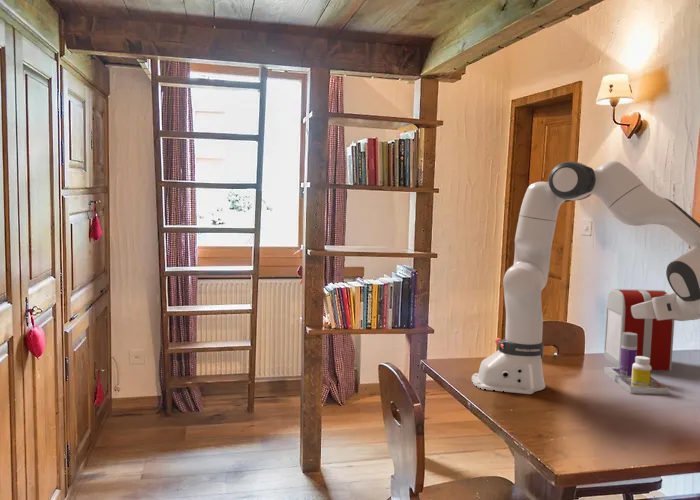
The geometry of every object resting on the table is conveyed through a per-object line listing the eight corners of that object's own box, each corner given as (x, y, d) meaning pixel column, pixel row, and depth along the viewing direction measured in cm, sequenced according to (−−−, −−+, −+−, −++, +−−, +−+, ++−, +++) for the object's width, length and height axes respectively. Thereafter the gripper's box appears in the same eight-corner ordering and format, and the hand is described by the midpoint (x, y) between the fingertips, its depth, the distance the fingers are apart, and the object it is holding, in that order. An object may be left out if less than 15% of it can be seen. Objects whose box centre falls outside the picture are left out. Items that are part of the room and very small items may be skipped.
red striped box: (602, 355, 210) (606, 285, 208) (651, 357, 208) (656, 287, 206) (619, 368, 194) (623, 292, 191) (672, 371, 192) (677, 294, 190)
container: (637, 380, 180) (639, 335, 179) (621, 379, 181) (624, 334, 180) (632, 376, 185) (635, 332, 183) (617, 375, 186) (620, 331, 184)
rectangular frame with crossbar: (667, 394, 167) (668, 388, 167) (630, 393, 168) (630, 386, 168) (637, 373, 188) (637, 367, 188) (603, 372, 189) (604, 366, 188)
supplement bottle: (652, 391, 170) (654, 360, 169) (633, 390, 171) (635, 359, 170) (647, 386, 175) (649, 355, 174) (628, 384, 176) (630, 354, 175)
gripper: (710, 289, 157) (672, 295, 170) (650, 298, 152) (616, 303, 165) (716, 311, 156) (677, 315, 169) (656, 321, 151) (621, 324, 164)
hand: (646, 309), depth 167 cm, fingers open, 8 cm apart
